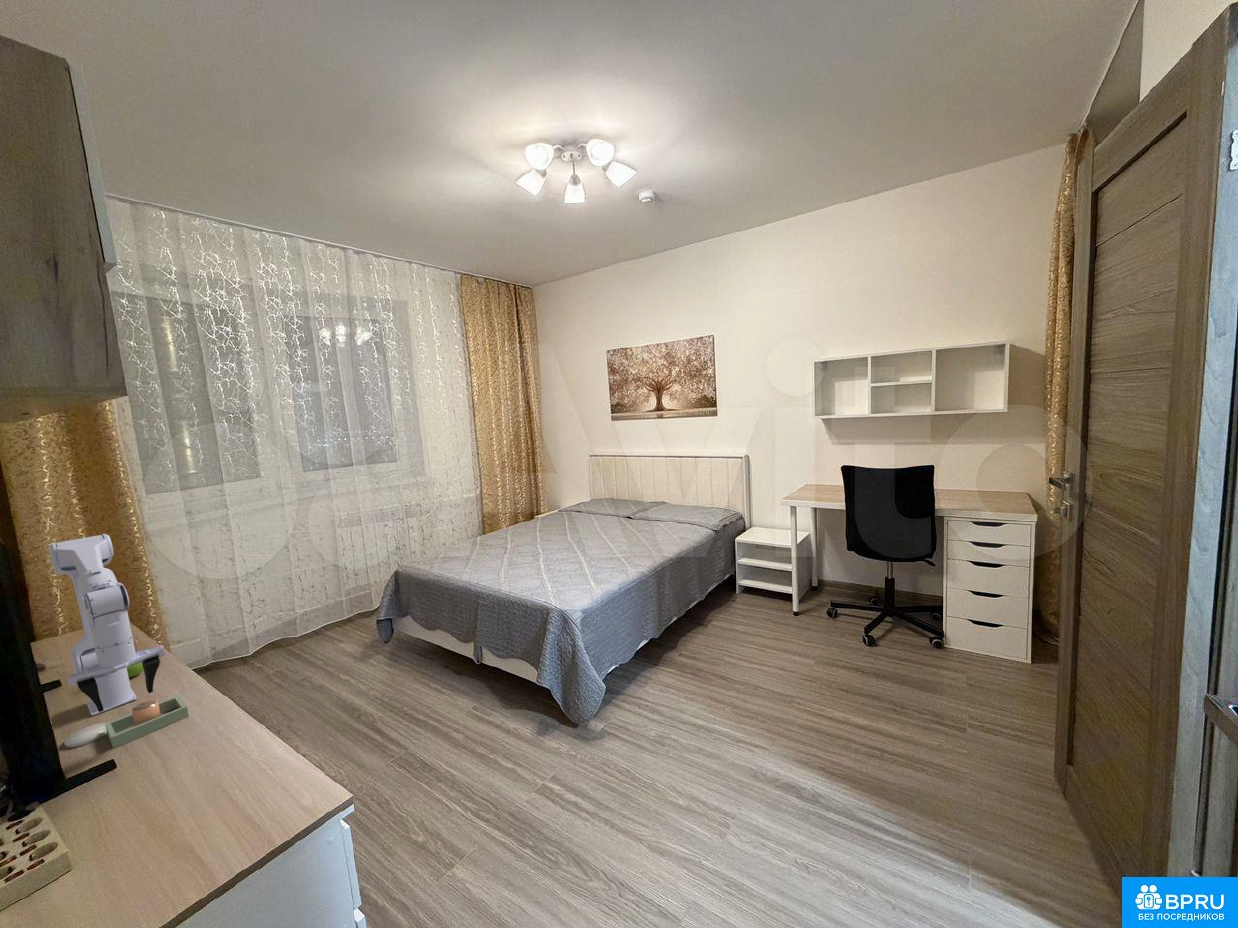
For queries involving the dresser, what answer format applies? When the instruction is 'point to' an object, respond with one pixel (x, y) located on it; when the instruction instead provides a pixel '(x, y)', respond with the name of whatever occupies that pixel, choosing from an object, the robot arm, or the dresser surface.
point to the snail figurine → (135, 668)
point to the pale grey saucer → (86, 735)
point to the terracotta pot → (146, 712)
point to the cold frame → (147, 726)
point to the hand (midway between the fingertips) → (126, 700)
